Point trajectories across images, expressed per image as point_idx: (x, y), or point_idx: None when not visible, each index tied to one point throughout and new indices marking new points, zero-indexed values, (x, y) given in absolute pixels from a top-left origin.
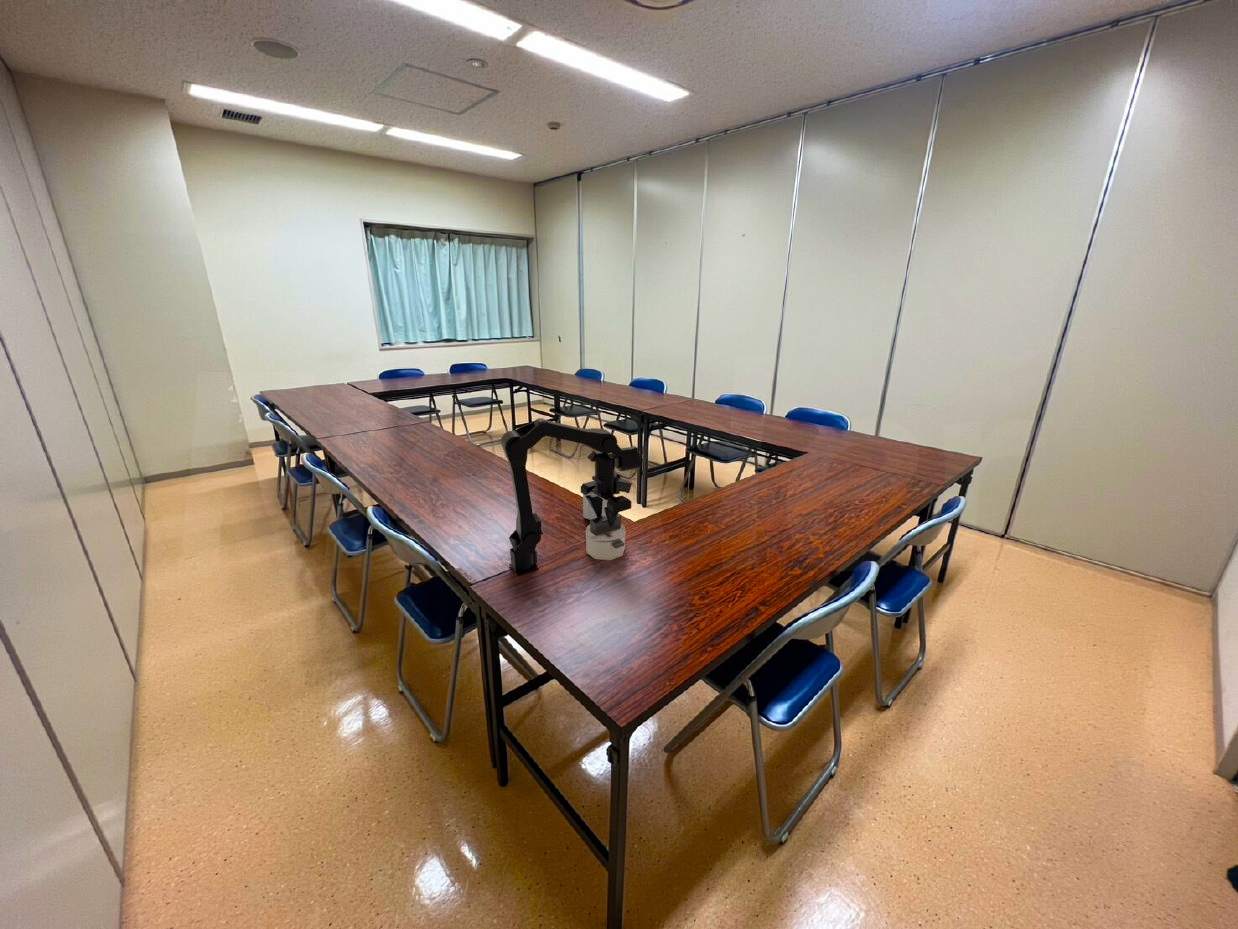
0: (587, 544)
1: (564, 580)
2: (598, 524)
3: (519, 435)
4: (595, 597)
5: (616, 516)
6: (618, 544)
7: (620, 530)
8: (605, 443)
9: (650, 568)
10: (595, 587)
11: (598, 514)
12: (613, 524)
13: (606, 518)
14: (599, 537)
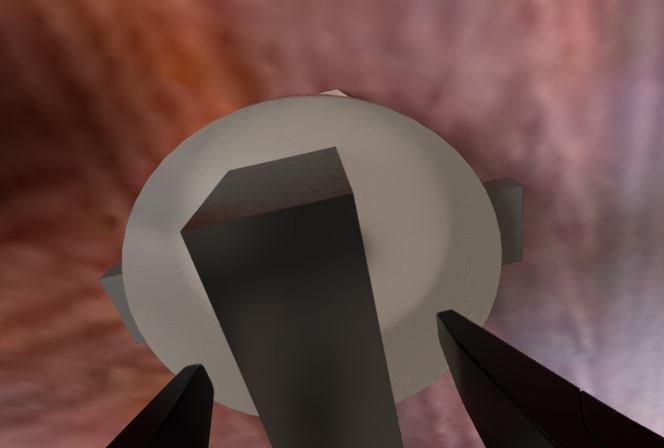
0: None
1: (467, 424)
2: None
3: None
4: (633, 363)
5: (591, 402)
6: (519, 237)
7: (395, 174)
8: None
9: (639, 40)
10: (581, 347)
11: (198, 441)
12: (467, 322)
13: (353, 394)
14: (423, 367)
